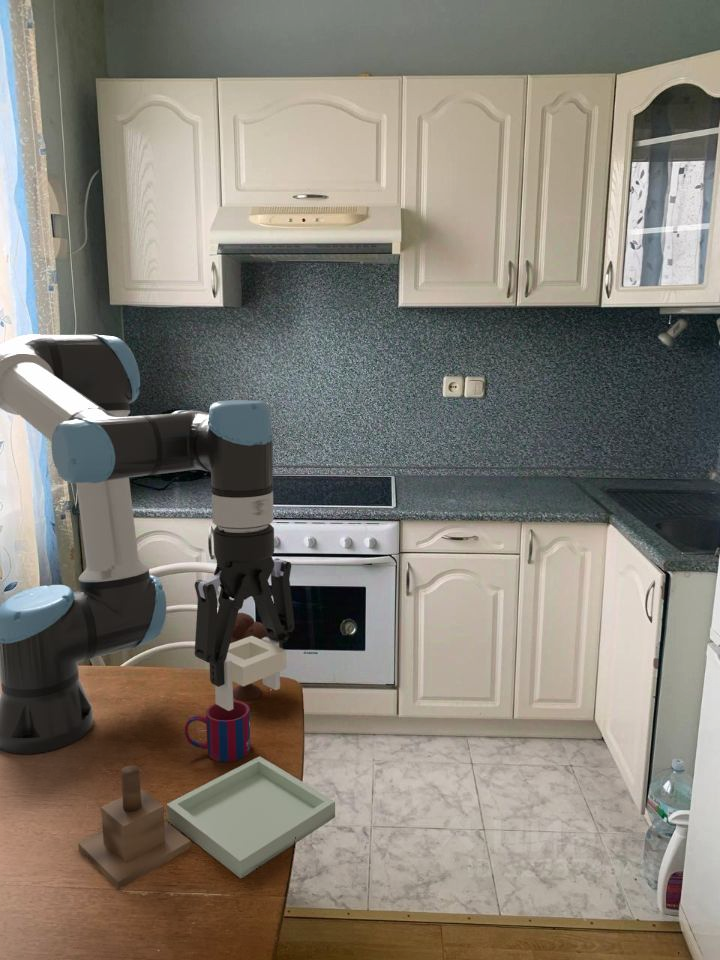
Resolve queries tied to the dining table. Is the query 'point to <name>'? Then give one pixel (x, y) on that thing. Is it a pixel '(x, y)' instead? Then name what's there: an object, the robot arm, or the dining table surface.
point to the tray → (250, 814)
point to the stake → (132, 835)
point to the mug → (225, 732)
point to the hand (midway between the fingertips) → (248, 695)
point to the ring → (254, 660)
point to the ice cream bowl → (241, 630)
